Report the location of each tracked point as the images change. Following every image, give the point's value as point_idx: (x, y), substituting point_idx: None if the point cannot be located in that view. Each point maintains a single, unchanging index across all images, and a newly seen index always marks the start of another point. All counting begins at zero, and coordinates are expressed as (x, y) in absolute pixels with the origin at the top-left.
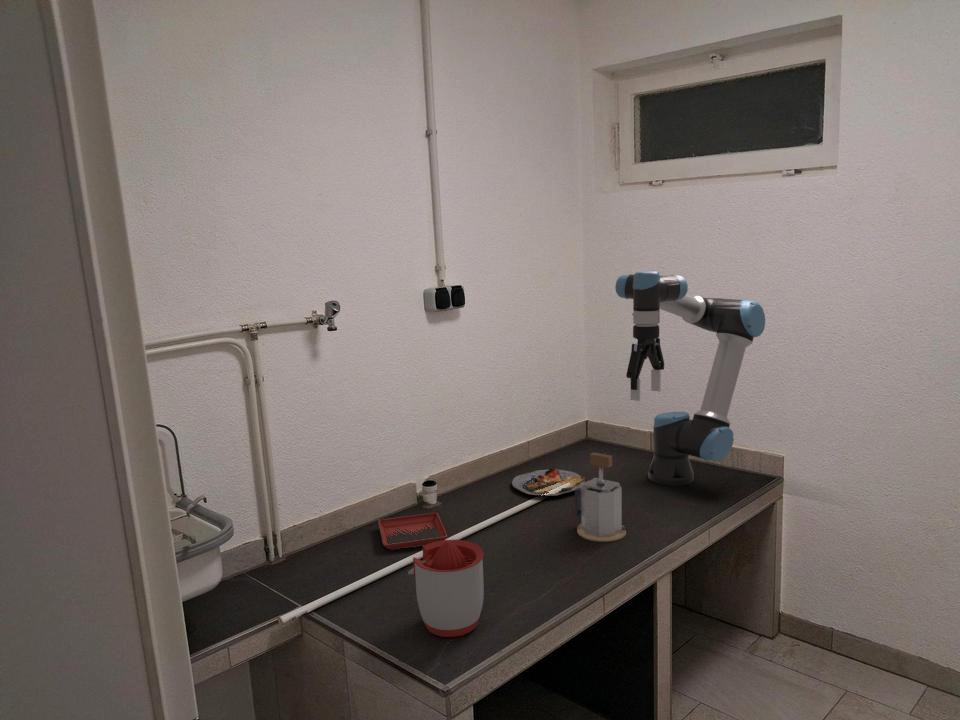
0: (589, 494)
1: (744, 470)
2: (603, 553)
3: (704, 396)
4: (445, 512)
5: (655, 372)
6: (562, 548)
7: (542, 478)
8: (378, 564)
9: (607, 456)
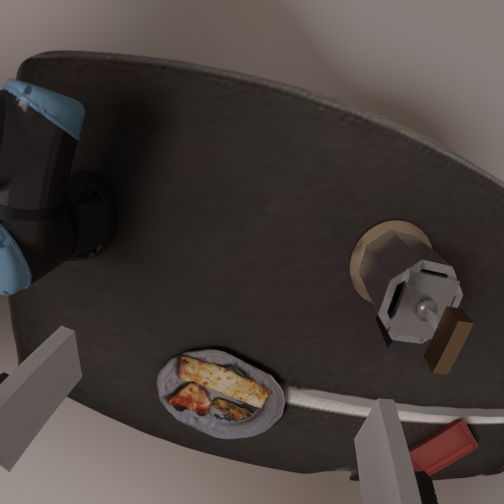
0: None
1: None
2: (465, 235)
3: None
4: None
5: (5, 440)
6: None
7: (204, 409)
8: (494, 430)
9: (465, 329)
